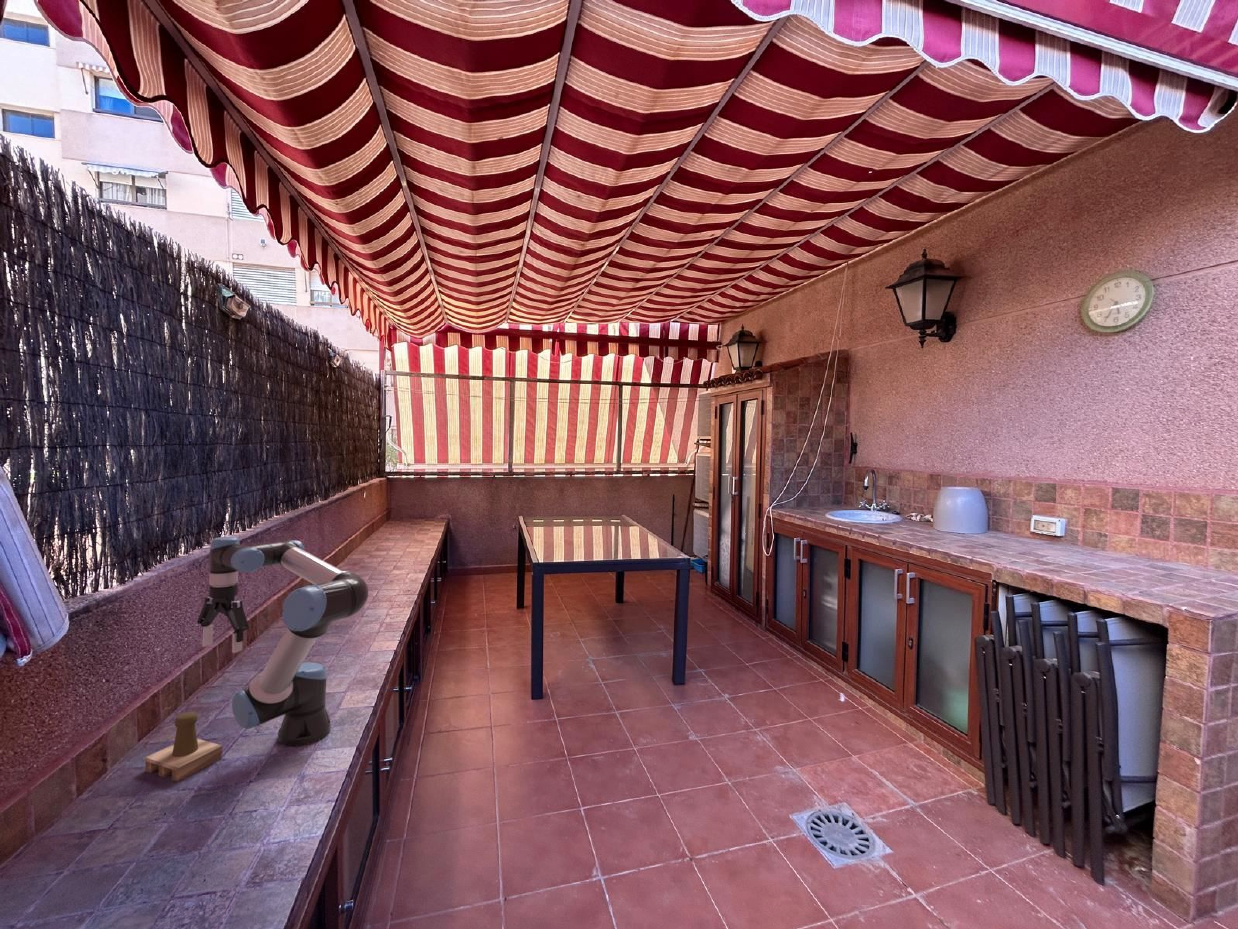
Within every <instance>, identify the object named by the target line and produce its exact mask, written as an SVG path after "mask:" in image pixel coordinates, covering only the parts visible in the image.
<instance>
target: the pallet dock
mask: <svg viewBox="0 0 1238 929" xmlns="http://www.w3.org/2000/svg"><path fill="white" fill-rule="evenodd" d="M197 741H198V750H197V751H195V752H194V753H192V754H189V755H186V756H182V757H174V756H172V752H173V747H174V743H173V744H172V745H169V746H167V747H164V748H162V749H161V750H158V751H155V752H154V753H152V754H150V755H147V756H145V758H144V761H145V768H144V769H145V770H144V772H147V773H150V774H152V773H155V772H156V771H158V776H160V777H162V778H165V777H167V776H169V775H171V781H175V782H179V781H182V780H184V779H185V778H187V777H189V776H191V775H193V774H195V773H196V772H199V771H200V770H203V769H204V768H206V767H208V766H211V765H212V764H214V763H215V762H218V761H220V760H221V759H223V758H222V754H223V745H221V744H217V743H216V742H215V743H214V742H210V741H207V740H203V739H200V738H197Z"/></svg>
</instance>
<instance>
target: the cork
mask: <svg viewBox="0 0 1238 929" xmlns="http://www.w3.org/2000/svg"><path fill="white" fill-rule="evenodd" d="M197 722H198V714H197V713H196V712H192V711H190V712H183V713H181V714H180V715H178V716H176V718H175V720H174V727H175V728H176V733H175V738H174V743H173V744H174V747H173V752H172V756H174V757H182V756H186V755H189V754H192V753H194V752H195V751H197V750H198V741H197V739H198V736H197V730H196V723H197Z"/></svg>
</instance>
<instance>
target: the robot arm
mask: <svg viewBox="0 0 1238 929" xmlns="http://www.w3.org/2000/svg"><path fill="white" fill-rule="evenodd" d="M273 566H280V567H282V568H285V569H287V570H288V571H290V572H291V573H293V574H295V575H297V576H298V577H300V578H302V579H304V580H305V581H307V582H309V583H310V584H309V585H305V586H302V587H300V588H296V589H295V590H293V591H291V592H290V593H289V594H288V595H287V596H286V598H284V599H285V600H284V602H283V604H282V608H281V609H282V610H283V611H282V612H281V617H282V621H283V623H284V625H285V627H286V629H285V630H284V632H283V634H282V636H281V638H280V640H279V641H278V644H277V645H276V647H275V649H274V651H273V652H272V654H271V656H270V658H269V660H268V661H267V664H266V665H265V667H264V669H263V670H262V672H260V673H258V674H257V675H255V676H254V677H253V678H252V679H251V682H250V683H249V684H248V687H247V688H244V689H240V690H238V691H236V692H235V693H234V694H233V696H232V699H231V709H232V714H233V716H234V718H235V721H236V723H237V724H238V725H239V726H240V727H241V728H243V729H245V730H250V729H253V728H256V727H259V726H261V725H263V724H265V723H268V722H270V721H273V720H275V719H277V718H279V717H281V716H283V719H282V722H281V725H280V728H279V729H278V731H277V742H278V744H280V745H281V746H285V747H291V748H292V747H302V746H306V745H310V744H313V743H316V742H318V741H320V740H322V739H324V738H325V737H326V736H327V735H329V734H330V732H331V730H330V729H332V727H331V726H332V724H331V719H330V716H329V714H328V710H327V708H326V697H327V694H326V693H327V690H326V689H327V679H328V676H327V668H326V666H325V665H323V663H322V664H321V663H318V662H304V661H305V659H306V657H307V656H308V655H309V653H310V651H311V649H312V647H313V646H314V644H315V642H316V641H317V639H318V638H322V636H324V635H325V634H326V633H327V632H328V631H329V628H331V627H330V626H332V624H333V623H334V622H336V621H340V620H342V619H346V618H349V617H352V616H354V615H356V614H358V613H359V612H360V611H361V610H362V609H363V608H364V607H365V605H366V603H367V601H368V598H369V597H368V596H369V589H368V585H367V583H366V581H365V580H364V579H363V578H362V577H361V576H359V575H358V574H357V573H354V572H353V571H351V570H344V571H343V570H342V569H339V568H338V567H336V566H334V565H333V564H330V563H328V562H326V561H324V560H323V559H321V558H319V557H317V556H315V555H313V554H312V553H310V552H308V551H306V550H305V546H304V545H303V542H302V541H300V540H290V539H289V540H285V541H278V542H272V543H262V544H256V545H247V546H242V545H241V544H240V539H239V538H238V537H237V536H221V537H215V538H213V539H212V540H211V542H210V549H209V581H208V584H209V585H210V586H209V588H208V591H209V592H208V596H207V597H205V598H204V604H203V606H202V609H201V611H200V613H199V616H198V618H197V621H196V623H197V624H198V625H199V624H200V626H201V627H202V628H201V629H202V630H201V631H202V632H201V635H202V645H201V647H202V648H206V647H209V646H212V645H214V644H213V643H214V641H213V640H214V638H213V637H214V622H213V621H215V618H216V617H217V616H218V615H219V613H220V614H222V615H224V616H225V617H226V618H227V619H228V622H229V623H230V626H231V627H232V629H233V632H232V640H231V641H232V644H231V645H232V647H231V653H232V654H235V653H238V652H241V651H243V641H244V632H245V631H248V630H249V629H250V626H249V622H248V620H247V616H246V613H245V610H244V607H243V601H242V600H237V601H236V599H235V597H236V596H238V594H239V584H238V582H239V572H242V573H252V572H256V571H257V570H259V569H261V568H267V567H273ZM319 739H320V740H319Z"/></svg>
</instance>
